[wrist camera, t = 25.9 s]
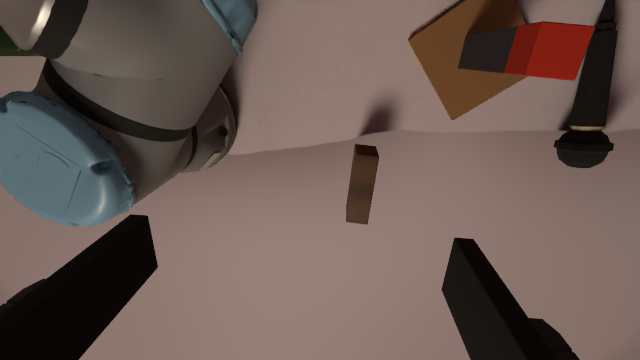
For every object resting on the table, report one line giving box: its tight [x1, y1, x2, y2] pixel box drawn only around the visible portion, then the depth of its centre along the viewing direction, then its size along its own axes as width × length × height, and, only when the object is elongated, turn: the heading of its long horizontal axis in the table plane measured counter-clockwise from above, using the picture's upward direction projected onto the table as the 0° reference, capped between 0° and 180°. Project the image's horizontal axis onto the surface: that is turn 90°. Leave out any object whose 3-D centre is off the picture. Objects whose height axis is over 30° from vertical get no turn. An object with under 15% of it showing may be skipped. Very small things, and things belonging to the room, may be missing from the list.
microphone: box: [554, 0, 618, 168], centre depth 37 cm, size 6×6×20 cm
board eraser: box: [346, 144, 379, 224], centre depth 44 cm, size 10×3×5 cm, turn 175°
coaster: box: [408, 0, 527, 120], centre depth 38 cm, size 12×12×1 cm
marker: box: [458, 21, 595, 81], centre depth 31 cm, size 16×4×4 cm
